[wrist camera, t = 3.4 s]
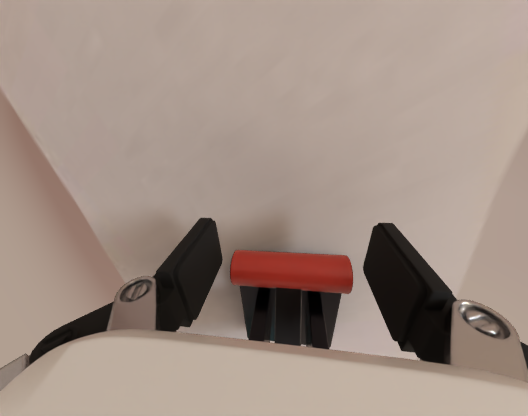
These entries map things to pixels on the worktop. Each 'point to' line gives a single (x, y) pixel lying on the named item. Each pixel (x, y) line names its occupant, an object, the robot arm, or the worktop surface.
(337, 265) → the lever
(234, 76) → the worktop surface
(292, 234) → the worktop surface
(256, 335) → the bracket
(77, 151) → the worktop surface
